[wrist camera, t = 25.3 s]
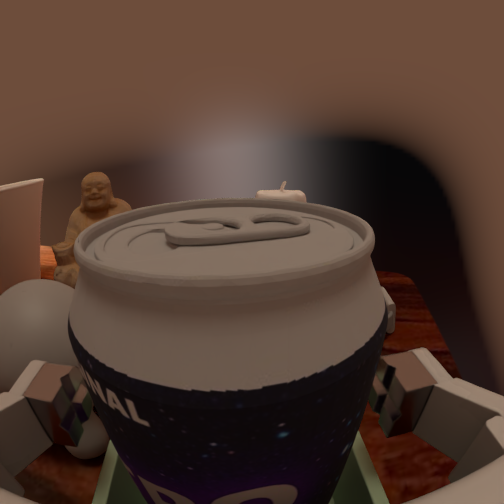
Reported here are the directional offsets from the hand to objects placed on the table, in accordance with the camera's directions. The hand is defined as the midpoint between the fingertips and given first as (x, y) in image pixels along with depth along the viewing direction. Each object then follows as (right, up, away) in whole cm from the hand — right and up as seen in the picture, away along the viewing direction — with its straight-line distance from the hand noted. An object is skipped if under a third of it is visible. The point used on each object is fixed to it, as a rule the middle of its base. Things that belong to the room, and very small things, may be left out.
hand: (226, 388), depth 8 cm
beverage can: (0, -7, +1) cm, 8 cm away
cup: (-28, -1, +23) cm, 37 cm away
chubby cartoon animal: (-12, -6, +7) cm, 15 cm away
